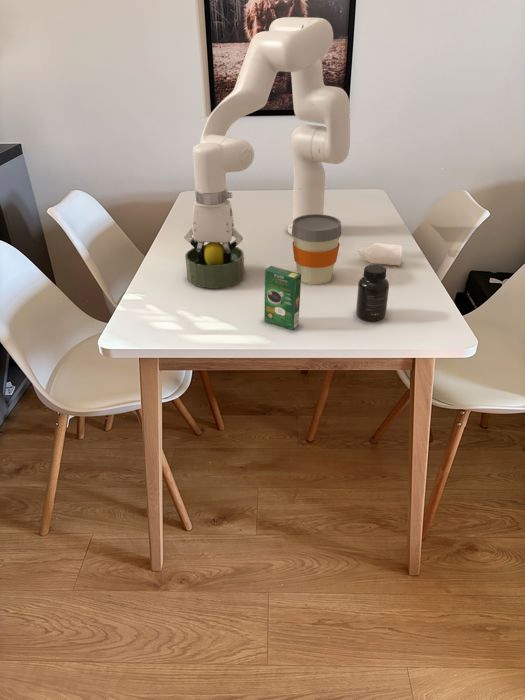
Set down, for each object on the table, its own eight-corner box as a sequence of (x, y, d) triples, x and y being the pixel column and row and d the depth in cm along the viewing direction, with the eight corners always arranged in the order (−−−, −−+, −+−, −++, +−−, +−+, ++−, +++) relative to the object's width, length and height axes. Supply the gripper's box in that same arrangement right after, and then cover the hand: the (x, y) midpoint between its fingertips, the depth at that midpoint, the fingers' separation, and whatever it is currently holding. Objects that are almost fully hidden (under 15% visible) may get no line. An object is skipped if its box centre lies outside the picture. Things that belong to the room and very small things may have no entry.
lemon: (223, 274, 144) (221, 244, 140) (202, 272, 145) (200, 243, 141) (228, 265, 149) (226, 237, 145) (208, 264, 150) (206, 235, 146)
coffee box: (300, 326, 126) (302, 272, 119) (294, 331, 124) (295, 277, 117) (270, 316, 130) (270, 264, 123) (263, 322, 128) (263, 269, 121)
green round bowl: (248, 267, 154) (247, 244, 150) (239, 291, 141) (238, 267, 138) (194, 264, 156) (193, 242, 152) (181, 288, 143) (178, 264, 140)
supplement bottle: (352, 309, 132) (356, 262, 126) (381, 308, 133) (386, 261, 126) (359, 324, 126) (363, 275, 120) (389, 322, 127) (395, 274, 120)
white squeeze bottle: (356, 257, 159) (358, 238, 156) (400, 260, 157) (402, 241, 154) (355, 265, 154) (356, 246, 151) (399, 269, 152) (402, 249, 149)
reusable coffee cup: (306, 291, 141) (308, 234, 133) (282, 273, 150) (282, 218, 142) (347, 281, 146) (352, 225, 138) (321, 264, 155) (324, 211, 147)
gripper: (248, 193, 139) (249, 260, 149) (180, 191, 141) (186, 258, 151) (243, 202, 133) (245, 272, 142) (173, 200, 135) (179, 269, 144)
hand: (215, 264), depth 147 cm, fingers closed on lemon, 5 cm apart
